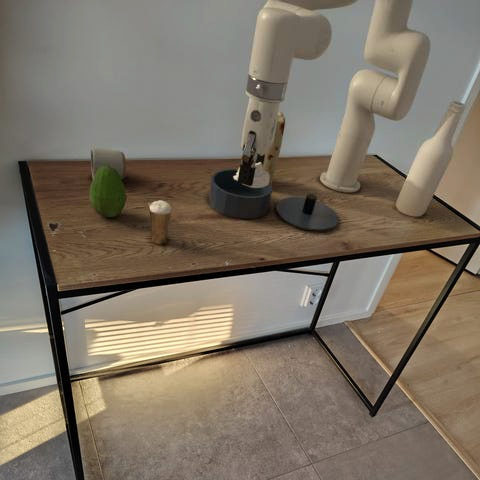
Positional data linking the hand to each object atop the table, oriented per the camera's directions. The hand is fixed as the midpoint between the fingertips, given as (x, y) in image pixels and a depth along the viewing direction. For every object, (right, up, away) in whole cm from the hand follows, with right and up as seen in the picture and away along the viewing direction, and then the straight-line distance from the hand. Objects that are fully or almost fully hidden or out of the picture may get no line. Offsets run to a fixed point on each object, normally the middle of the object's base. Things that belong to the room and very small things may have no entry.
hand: (250, 176), depth 94 cm
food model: (+4, +9, +34) cm, 35 cm away
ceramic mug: (-37, +7, +21) cm, 44 cm away
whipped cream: (0, -1, +1) cm, 2 cm away
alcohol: (+48, +2, +36) cm, 60 cm away
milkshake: (-21, -13, +3) cm, 25 cm away
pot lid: (+16, -3, +22) cm, 27 cm away
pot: (-3, 0, +22) cm, 22 cm away
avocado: (-33, -7, +8) cm, 34 cm away
